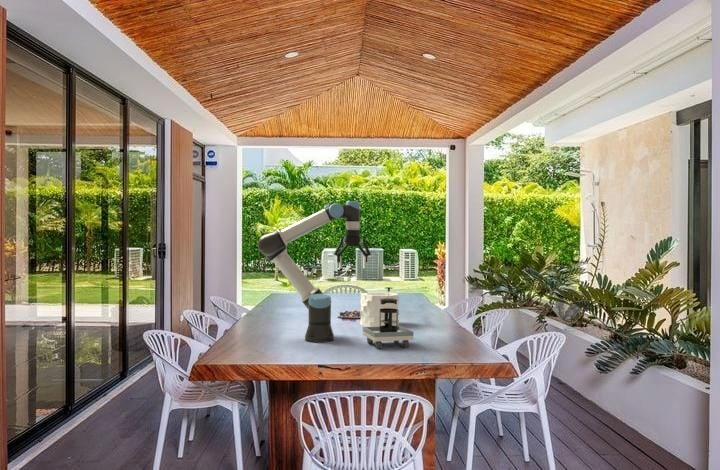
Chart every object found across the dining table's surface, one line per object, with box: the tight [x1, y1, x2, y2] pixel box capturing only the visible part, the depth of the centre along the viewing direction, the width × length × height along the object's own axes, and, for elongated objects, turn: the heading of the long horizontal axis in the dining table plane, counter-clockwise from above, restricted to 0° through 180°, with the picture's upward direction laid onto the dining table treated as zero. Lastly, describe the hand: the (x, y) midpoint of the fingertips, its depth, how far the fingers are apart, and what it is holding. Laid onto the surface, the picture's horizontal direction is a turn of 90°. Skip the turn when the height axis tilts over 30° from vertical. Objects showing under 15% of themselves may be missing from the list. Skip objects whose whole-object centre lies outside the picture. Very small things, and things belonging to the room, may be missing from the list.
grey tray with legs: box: [362, 325, 414, 350], centre depth 306 cm, size 20×20×8 cm
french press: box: [379, 286, 399, 333], centre depth 306 cm, size 12×9×23 cm
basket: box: [359, 291, 400, 327], centre depth 376 cm, size 25×24×19 cm
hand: (352, 268), depth 334 cm, fingers open, 13 cm apart
